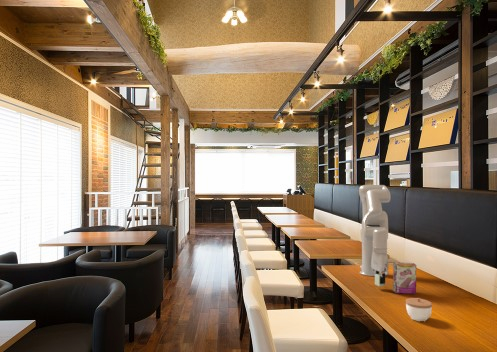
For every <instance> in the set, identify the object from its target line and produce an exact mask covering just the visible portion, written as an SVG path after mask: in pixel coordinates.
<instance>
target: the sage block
mask: <svg viewBox="0 0 497 352" xmlns="http://www.w3.org/2000/svg"><path fill="white" fill-rule="evenodd" d="M380 277H381V274H380V273H379V274H375V276H374V285H375V286H377V287H385V286H386V283H385V284H380Z"/></svg>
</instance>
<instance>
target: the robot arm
mask: <svg viewBox="0 0 497 352" xmlns="http://www.w3.org/2000/svg"><path fill="white" fill-rule="evenodd" d="M358 195H359V197H360V198H359V199H360V201H361V206H362V220H361V229H360V238H361V263H362V264H361V265H360V266H359V268H360V269H361V270H360V271H359V274H360V275H363V276H367V277H368V276H369V277H375V274H381V277H380V284H385V285H386V277H387V276H388V275H389V274H390V273H389V257H388V239H389V218H388V214H387V212H386V211H385V210H383V207H382V203H384V204H385V203H390V202H391V192H390V190H389V189H388V187H387V186H386V185H385V184H363V185H360V187H359V188H358ZM368 225H369V226H368ZM370 225H371V226H370ZM372 225H373V226H372ZM374 225H375V226H374Z"/></svg>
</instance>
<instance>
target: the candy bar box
mask: <svg viewBox="0 0 497 352" xmlns="http://www.w3.org/2000/svg"><path fill="white" fill-rule="evenodd" d="M392 265H393V269H392V273H393V274H392V277H393V278H392V280H393V281H392V285H393V286H392V291H393V292H394V293H395V294H403V295H404V294H405V295H408V294H409V295H416V294H417V264H415V263H414V262H397V261H395V262H393V264H392Z"/></svg>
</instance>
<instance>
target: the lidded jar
mask: <svg viewBox="0 0 497 352" xmlns="http://www.w3.org/2000/svg"><path fill="white" fill-rule="evenodd" d="M405 308H406V312H407V314H408V316H409V317H410V319H411V320H412V321H416V322H420V321H424V322H427V320H428V319H429V318H430V317H431V315H432V309H433V303H432V302H431V301H429V300H427V299H424V298H420V297H410V298H409V297H408V298H406V299H405Z"/></svg>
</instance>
